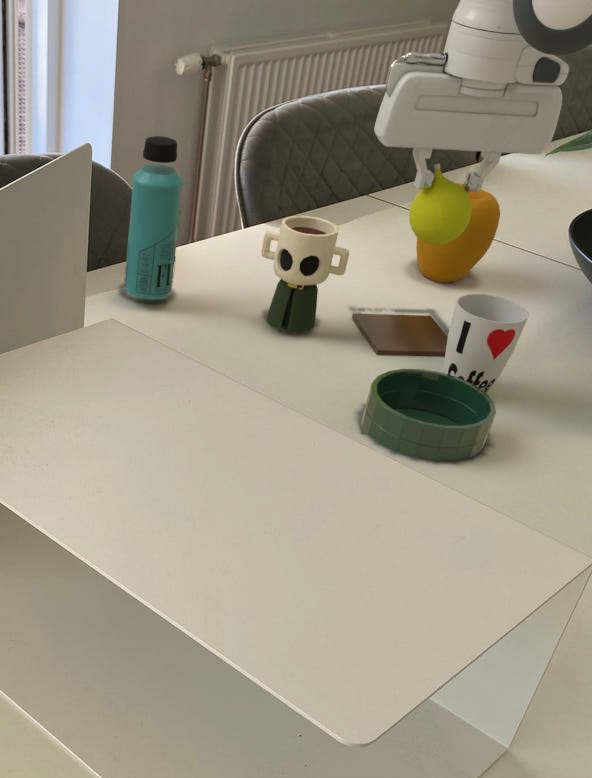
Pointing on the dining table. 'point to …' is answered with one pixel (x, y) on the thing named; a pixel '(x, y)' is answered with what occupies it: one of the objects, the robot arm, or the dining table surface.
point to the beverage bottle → (154, 222)
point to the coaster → (402, 334)
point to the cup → (482, 338)
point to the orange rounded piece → (462, 242)
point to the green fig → (440, 211)
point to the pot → (428, 414)
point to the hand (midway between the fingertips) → (446, 189)
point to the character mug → (301, 269)
